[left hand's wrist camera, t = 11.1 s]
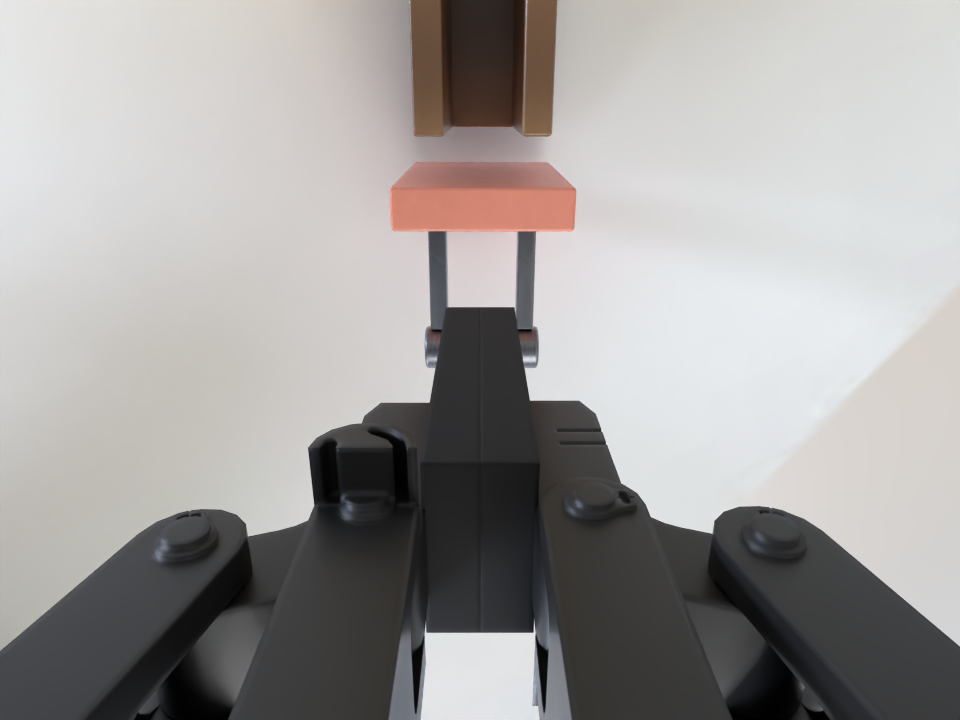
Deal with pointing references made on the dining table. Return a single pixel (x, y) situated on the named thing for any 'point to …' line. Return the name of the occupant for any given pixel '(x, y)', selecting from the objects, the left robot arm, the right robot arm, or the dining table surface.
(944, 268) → the dining table surface
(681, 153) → the dining table surface
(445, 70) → the drawer
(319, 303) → the dining table surface
